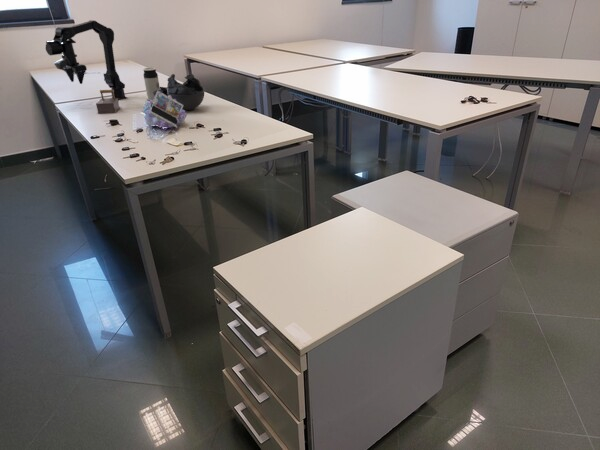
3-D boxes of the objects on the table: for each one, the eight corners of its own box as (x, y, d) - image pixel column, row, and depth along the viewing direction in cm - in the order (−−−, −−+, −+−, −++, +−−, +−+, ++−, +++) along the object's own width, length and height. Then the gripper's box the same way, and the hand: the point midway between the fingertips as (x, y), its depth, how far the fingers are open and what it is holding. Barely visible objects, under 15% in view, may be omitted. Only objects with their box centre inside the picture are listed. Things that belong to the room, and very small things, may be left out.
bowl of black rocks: (213, 109, 235) (209, 74, 225) (183, 116, 222) (177, 80, 213) (192, 103, 246) (188, 70, 237) (162, 109, 234) (157, 74, 224)
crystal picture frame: (166, 107, 220) (147, 81, 205) (199, 110, 211) (182, 82, 197) (147, 136, 211) (126, 111, 196) (181, 140, 203) (162, 114, 188)
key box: (103, 108, 237) (101, 99, 234) (119, 107, 238) (117, 99, 236) (98, 113, 227) (96, 105, 225) (115, 112, 228) (113, 104, 226)
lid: (101, 99, 235) (98, 89, 232) (117, 99, 236) (115, 88, 233) (96, 104, 225) (93, 94, 222) (113, 104, 226) (111, 93, 223)
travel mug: (145, 100, 253) (139, 69, 244) (153, 97, 259) (148, 67, 250) (155, 101, 250) (150, 70, 241) (164, 98, 256) (159, 67, 247)
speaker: (167, 102, 246) (163, 85, 240) (171, 105, 242) (167, 87, 236) (155, 106, 243) (150, 88, 237) (159, 108, 239) (154, 90, 233)
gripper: (45, 53, 224) (54, 83, 232) (62, 56, 214) (71, 87, 222) (65, 50, 232) (73, 79, 240) (83, 53, 222) (91, 83, 230)
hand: (76, 82), depth 233 cm, fingers open, 9 cm apart
